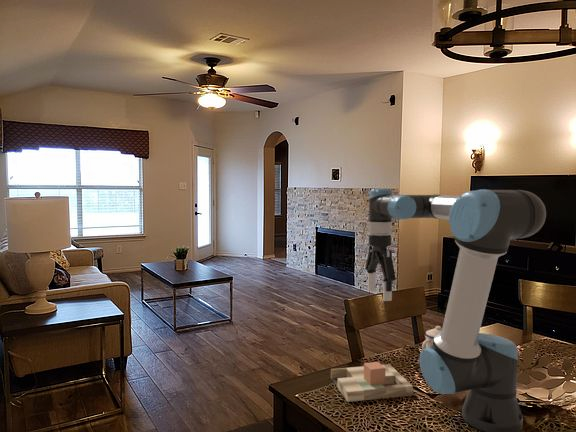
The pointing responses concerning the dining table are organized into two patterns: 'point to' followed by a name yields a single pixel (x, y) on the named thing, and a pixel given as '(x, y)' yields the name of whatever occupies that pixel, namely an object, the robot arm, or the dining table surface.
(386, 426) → the dining table surface
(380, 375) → the block
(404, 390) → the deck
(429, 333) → the teacup with lid
